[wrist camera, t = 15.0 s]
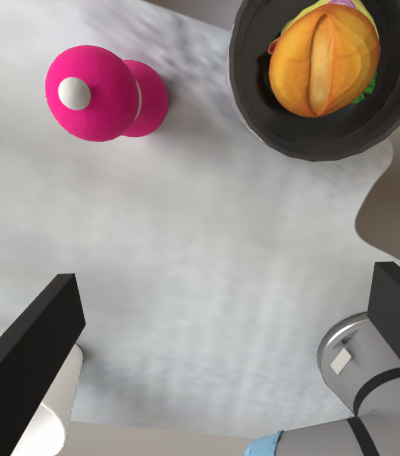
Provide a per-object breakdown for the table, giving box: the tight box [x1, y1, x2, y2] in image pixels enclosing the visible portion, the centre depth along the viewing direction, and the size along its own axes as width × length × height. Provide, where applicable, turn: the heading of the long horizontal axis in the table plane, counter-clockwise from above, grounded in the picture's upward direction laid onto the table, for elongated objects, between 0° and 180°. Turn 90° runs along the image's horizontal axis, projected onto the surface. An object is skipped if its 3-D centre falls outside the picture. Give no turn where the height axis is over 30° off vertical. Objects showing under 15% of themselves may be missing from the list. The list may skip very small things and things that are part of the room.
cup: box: [11, 344, 83, 456], centre depth 44 cm, size 12×12×12 cm
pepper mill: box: [45, 45, 168, 142], centre depth 27 cm, size 7×7×20 cm
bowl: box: [226, 0, 400, 162], centre depth 32 cm, size 19×19×6 cm
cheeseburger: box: [268, 0, 381, 118], centre depth 31 cm, size 10×11×10 cm
